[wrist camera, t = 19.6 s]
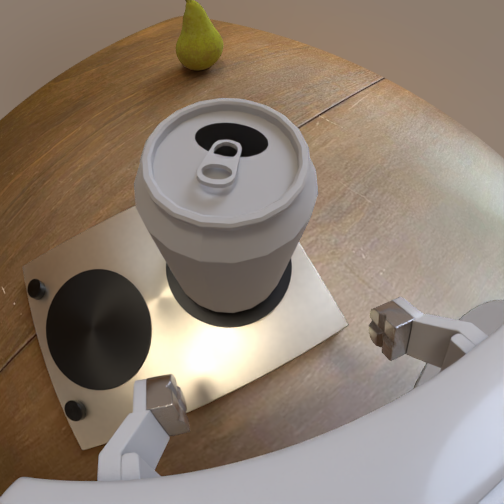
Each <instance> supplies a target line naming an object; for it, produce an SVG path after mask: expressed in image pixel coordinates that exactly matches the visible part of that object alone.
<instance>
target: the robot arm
mask: <svg viewBox="0 0 504 504" xmlns="http://www.w3.org/2000/svg"><path fill="white" fill-rule="evenodd" d="M370 318H371V319H372V322H371V323H370V325H369V334H370V338H371V340H372V341H373V343H374V344H375V345H376V346H379V347H382V353H383V354H384V355H385V356H386V357H387V358H388V359H389V360H390V361H392V360H394V359H396V358H398V357H400V356H402V355H404V354H406V353H407V355H409V356H411V357H414V358H416V359H419V360H421V361H424V362H426V363H429V364H432V365H434V366H437V367H439V368H441V370H440V373H438V374H437V375H435V376H434V377H432V378H431V379H429V380H427V381H426V382H424V383H423V384H421V385H419V386H418V387H416V388H414V389H413V390H411V391H409V392H408V393H406V394H404V395H402V396H401V397H399V398H397V399H395V400H393V401H392V402H390V403H388V404H386V405H384V406H382V407H380V408H378V409H377V410H375V411H373V412H371V413H369V414H367V415H365V416H363V417H360V418H358V419H356V420H354V421H352V422H350V423H348V424H345V425H343V426H341V427H339V428H336V429H334V430H332V431H329V432H327V433H324V434H322V435H319V436H317V437H314V438H312V439H309V440H306V441H304V442H301V443H298V444H295V445H293V446H290V447H287V448H284V449H281V450H278V451H275V452H271V453H268V454H265V455H262V456H258V457H255V458H251V459H247V460H244V461H240V462H236V463H232V464H228V465H224V466H219V467H215V468H210V469H205V470H200V471H194V472H189V473H183V474H177V475H170V476H162V477H161V476H160V475H159V474H158V473H157V472H156V471H154V470H155V468H156V466H157V464H158V462H159V460H160V458H161V456H162V453H163V451H164V449H165V447H166V445H167V443H168V441H169V439H170V436H174V435H179V434H184V433H188V432H190V426H189V419H188V417H187V415H186V414H185V412H186V411H187V406H186V401H185V397H184V395H183V392H182V390H181V388H180V387H178V386H177V383H176V379H175V377H174V375H173V374H167V375H162V376H157V377H151V378H147V379H142V380H136V381H135V383H134V390H133V413H129V414H128V416H127V417H126V418H125V420H124V421H123V422H122V424H121V425H120V426H119V428H118V429H117V431H116V432H115V433H114V435H113V436H112V437H111V439H110V440H109V441H108V443H107V444H106V445H105V447H104V448H103V449H102V451H101V452H100V454H99V458H98V477H97V481H65V480H49V479H39V478H31V477H21V478H18V479H17V480H16V481H15V482H14V483H13V484H12V485H11V486H10V487H9V488H8V489H7V490H6V491H5V492H4V493H3V495H2V496H1V497H0V504H504V324H503V325H502V326H500V327H499V328H498V329H497V330H496V331H495V332H493V333H492V334H491V335H490V336H488V335H486V334H485V333H484V332H483V331H481V330H480V329H479V328H478V327H476V326H475V325H474V324H472V323H470V322H465V321H460V320H455V319H451V318H446V317H441V316H437V315H432V314H425V315H424V314H423V313H422V312H420V311H419V310H418V309H417V308H415V307H414V306H413V305H412V304H410V303H409V302H408V301H407V300H405V299H404V298H403V297H398V298H396V299H394V300H391V301H390V302H387V303H385V304H383V305H380V306H378V307H376V308H373V309H371V311H370Z"/></svg>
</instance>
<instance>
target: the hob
mask: <svg viewBox="0 0 504 504" xmlns="http://www.w3.org/2000/svg"><path fill="white" fill-rule="evenodd" d="M23 273H24V279H25V285H26V290H27V295H28V300H29V305H30V309H31V314H32V318H33V322H34V326H35V330H36V333H37V337H38V341H39V344H40V348H41V351H42V354H43V357H44V360H45V363H46V366H47V369H48V372H49V375H50V378H51V381H52V383H53V386H54V389H55V391H56V394H57V396H58V399H59V401H60V404H61V406H62V409H63V411H64V413H65V415H66V418H67V420H68V422H69V424H70V426H71V429H72V431H73V433H74V435H75V437H76V439H77V441H78V443H79V445H80V447H81V449H82V450H86V449H90V448H93V447H96V446H99V445H103V444H106V443H108V441H109V440H110V439H111V437H112V436H113V435H114V433H115V432H116V431H117V429H118V428H119V426H120V425H121V424H122V422H123V421H124V420H125V418H126V417H127V416H128V414H129V413H133V390H134V383H135V381H136V380H142V379H147V378H151V377H157V376H162V375H167V374H173V375H174V377H175V379H176V383H177V386H178V387H180V388H181V390H182V392H183V395H184V397H185V401H186V406H187V411H186V412H185V413H188V412H190V411H192V410H194V409H197V408H199V407H201V406H203V405H206V404H208V403H210V402H212V401H214V400H216V399H218V398H221V397H223V396H225V395H227V394H229V393H231V392H233V391H235V390H237V389H239V388H241V387H243V386H245V385H247V384H249V383H251V382H253V381H255V380H257V379H259V378H260V377H262V376H264V375H266V374H268V373H270V372H272V371H273V370H275V369H277V368H279V367H281V366H282V365H284V364H286V363H288V362H290V361H291V360H293V359H295V358H297V357H298V356H300V355H302V354H303V353H305V352H307V351H308V350H310V349H312V348H313V347H315V346H317V345H318V344H320V343H322V342H323V341H325V340H327V339H328V338H330V337H331V336H333V335H335V334H336V333H338V332H339V331H341V330H342V329H344V328H345V327H347V326H348V325H349V324H348V322H347V320H346V319H345V317H344V315H343V314H342V312H341V310H340V309H339V307H338V305H337V303H336V302H335V300H334V298H333V297H332V295H331V293H330V292H329V290H328V288H327V287H326V285H325V283H324V282H323V280H322V278H321V277H320V275H319V274H318V272H317V270H316V269H315V267H314V265H313V264H312V262H311V261H310V259H309V257H308V256H307V254H306V253H305V251H304V249H303V248H302V246H301V245H300V243H299V242H298V244H297V247H296V249H295V251H294V253H293V255H292V257H291V259H290V261H289V263H288V265H287V267H286V269H285V271H284V273H283V275H282V277H281V279H280V281H279V283H278V285H277V286H276V287H275V289H274V290H273V291H272V292H271V294H270V295H269V296H268V297H267V299H265V300H264V301H262V302H261V303H259V304H257V305H256V306H254V307H253V308H251V309H247V310H243V311H239V312H235V313H227V312H215V311H212V310H210V309H207V308H205V307H202V306H200V305H198V304H197V303H196V302H194V301H193V300H192V299H191V298H190V297H189V296H187V295H186V294H185V292H184V291H183V289H182V287H181V286H180V284H179V283H178V281H177V279H176V278H175V276H174V274H173V273H172V271H171V269H170V268H169V266H168V264H167V263H166V261H165V259H164V258H163V256H162V254H161V253H160V251H159V249H158V247H157V246H156V244H155V242H154V240H153V239H152V237H151V235H150V233H149V232H148V230H147V228H146V226H145V224H144V222H143V220H142V218H141V216H140V215H139V213H138V211H137V209H136V205H135V206H133V207H131V208H129V209H127V210H125V211H123V212H121V213H119V214H117V215H115V216H113V217H111V218H109V219H107V220H105V221H103V222H101V223H99V224H97V225H95V226H93V227H91V228H89V229H87V230H86V231H84V232H82V233H80V234H78V235H76V236H74V237H73V238H71V239H69V240H67V241H65V242H64V243H62V244H60V245H58V246H56V247H55V248H53V249H51V250H49V251H48V252H46V253H44V254H43V255H41V256H39V257H37V258H36V259H34V260H32V261H31V262H29V263H27V264H26V265H24V266H23Z"/></svg>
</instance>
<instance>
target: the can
mask: <svg viewBox="0 0 504 504" xmlns="http://www.w3.org/2000/svg"><path fill="white" fill-rule="evenodd" d="M134 190H135V202H136V209H137V211H138V213H139V215H140V216H141V218H142V220H143V222H144V224H145V226H146V228H147V230H148V232H149V233H150V235H151V237H152V239H153V240H154V242H155V244H156V246H157V247H158V249H159V251H160V253H161V254H162V256H163V258H164V259H165V261H166V263H167V264H168V266H169V268H170V269H171V271H172V273H173V274H174V276H175V278H176V279H177V281H178V283H179V284H180V286H181V287H182V289H183V291H184V292H185V294H186V295H187V296H189V297H190V298H191V299H192V300H193V301H194V302H196V303H197V304H198V305H200V306H202V307H205V308H207V309H210V310H212V311H215V312H227V313H235V312H239V311H243V310H247V309H251V308H253V307H254V306H256V305H257V304H259V303H261V302H262V301H264V300H265V299H267V297H268V296H269V295H270V294H271V292H272V291H273V290H274V289H275V287H276V286H277V285H278V283H279V281H280V279H281V277H282V275H283V273H284V271H285V269H286V267H287V265H288V263H289V261H290V259H291V257H292V255H293V253H294V251H295V249H296V247H297V244H298V242H299V240H300V238H301V236H302V234H303V232H304V230H305V228H306V226H307V224H308V222H309V220H310V218H311V215H312V211H313V208H314V205H315V202H316V198H317V195H318V187H317V176H316V169H315V167H314V165H313V163H312V161H311V159H310V155H309V147H308V145H307V143H306V141H305V139H304V138H303V136H302V134H301V132H300V130H299V129H298V128H297V127H296V126H295V125H294V124H293V123H292V122H291V121H290V120H289V119H288V118H287V117H286V116H284V115H283V114H281V113H279V112H277V111H275V110H274V109H272V108H270V107H268V106H266V105H264V104H260V103H256V102H253V101H249V100H245V99H232V98H218V99H212V100H206V101H200V102H197V103H194V104H192V105H189V106H187V107H184V108H182V109H180V110H177V111H176V112H174V113H173V114H172V115H170V116H169V117H168V118H166V119H165V120H164V121H162V122H161V123H160V124H159V125H158V126H157V127H156V128H155V130H154V131H153V132H152V134H151V135H150V136H149V138H148V139H147V140H146V143H145V146H144V149H143V152H142V155H141V158H140V165H139V168H138V172H137V175H136V179H135V182H134Z"/></svg>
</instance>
